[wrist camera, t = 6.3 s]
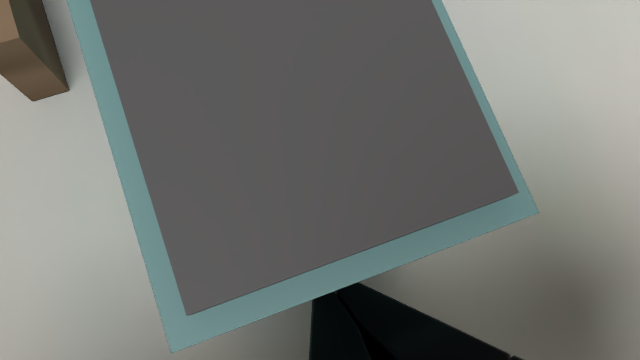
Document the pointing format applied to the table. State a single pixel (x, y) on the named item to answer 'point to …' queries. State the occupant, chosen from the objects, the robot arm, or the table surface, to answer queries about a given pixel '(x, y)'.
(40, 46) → the corral
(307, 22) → the teal box
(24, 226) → the table surface
